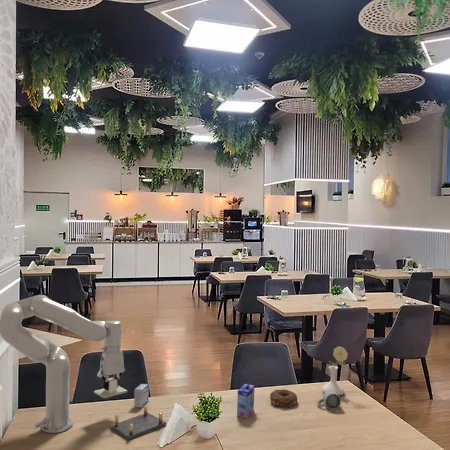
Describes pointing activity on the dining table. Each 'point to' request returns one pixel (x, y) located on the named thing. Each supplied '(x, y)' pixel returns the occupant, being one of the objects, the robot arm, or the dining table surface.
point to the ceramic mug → (330, 400)
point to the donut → (283, 398)
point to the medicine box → (141, 395)
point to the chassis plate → (138, 425)
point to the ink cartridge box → (245, 400)
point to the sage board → (105, 394)
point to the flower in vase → (333, 385)
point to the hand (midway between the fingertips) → (110, 388)
